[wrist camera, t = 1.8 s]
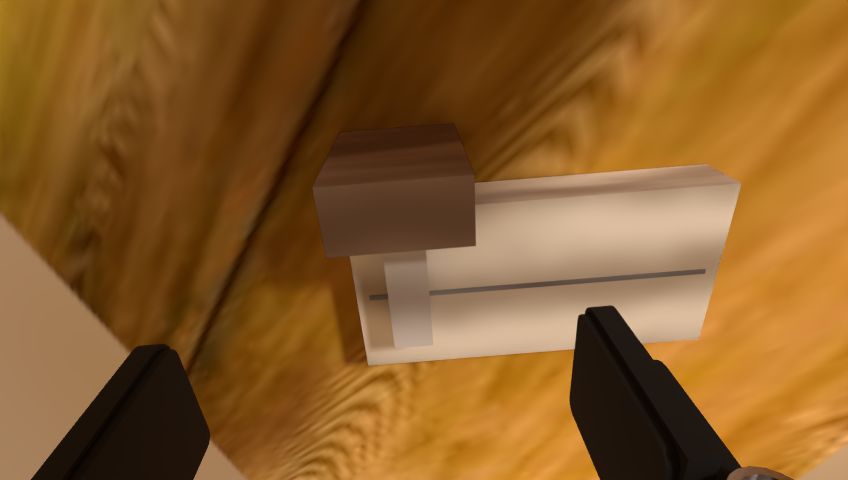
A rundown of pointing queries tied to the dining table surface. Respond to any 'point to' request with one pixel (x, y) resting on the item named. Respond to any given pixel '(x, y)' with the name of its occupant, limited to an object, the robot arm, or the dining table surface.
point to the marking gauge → (398, 210)
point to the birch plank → (565, 264)
